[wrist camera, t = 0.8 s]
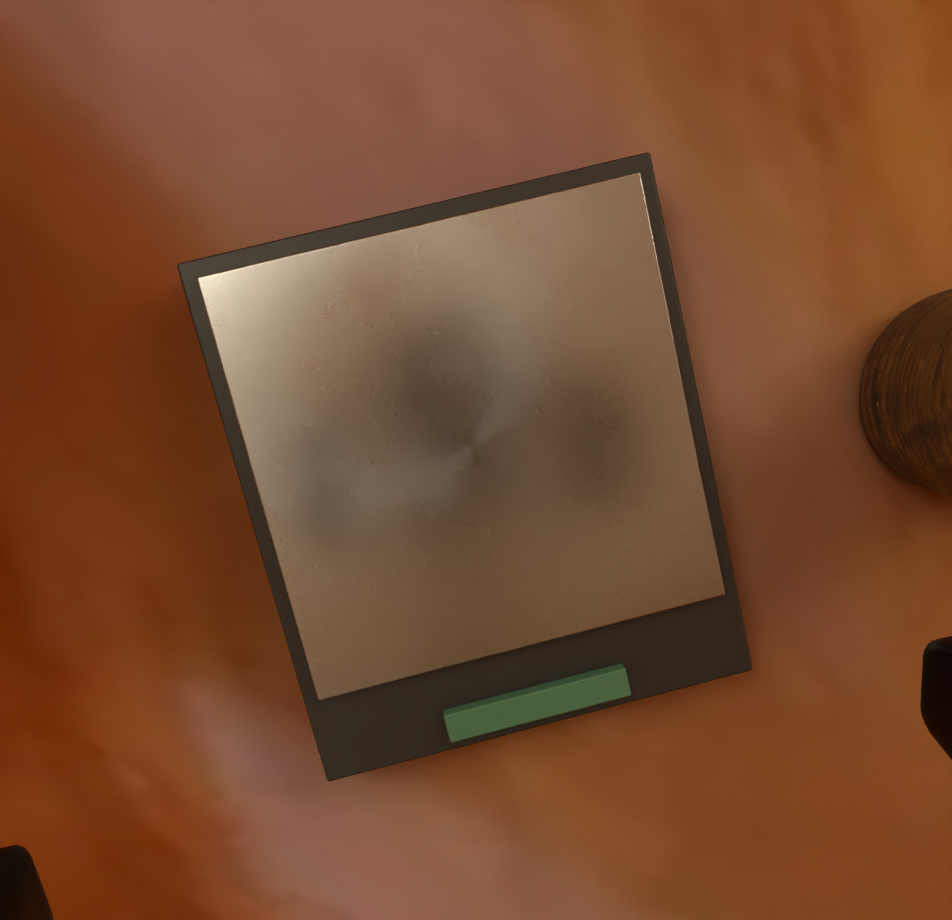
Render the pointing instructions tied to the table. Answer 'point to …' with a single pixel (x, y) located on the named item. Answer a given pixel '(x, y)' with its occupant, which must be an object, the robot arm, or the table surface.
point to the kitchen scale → (474, 462)
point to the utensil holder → (913, 393)
